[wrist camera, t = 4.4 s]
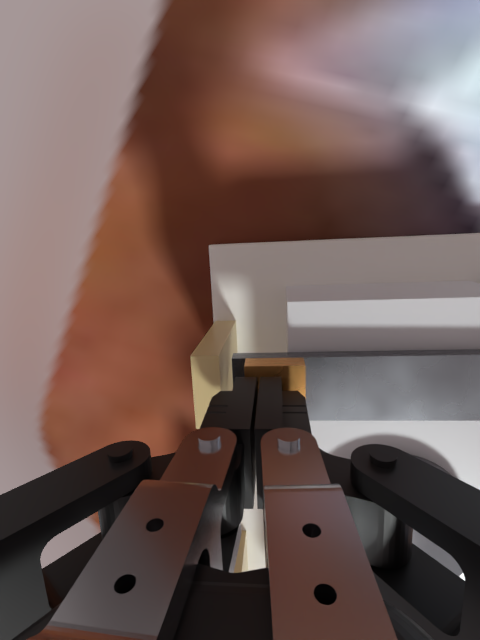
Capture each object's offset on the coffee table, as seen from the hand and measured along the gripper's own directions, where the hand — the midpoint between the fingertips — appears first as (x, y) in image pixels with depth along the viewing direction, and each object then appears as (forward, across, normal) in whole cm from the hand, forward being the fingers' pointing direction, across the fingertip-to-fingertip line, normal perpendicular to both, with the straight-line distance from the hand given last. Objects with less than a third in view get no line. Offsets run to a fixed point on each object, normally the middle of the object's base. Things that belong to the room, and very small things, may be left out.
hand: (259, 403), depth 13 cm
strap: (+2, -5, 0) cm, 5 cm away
